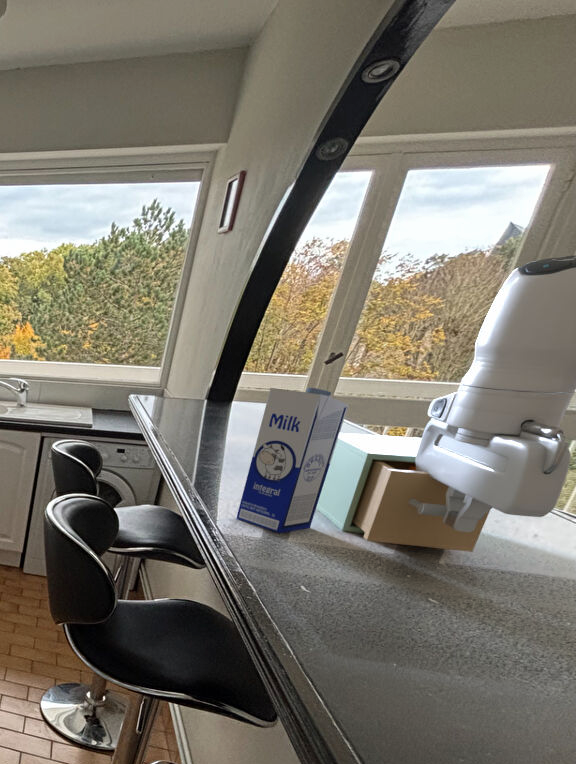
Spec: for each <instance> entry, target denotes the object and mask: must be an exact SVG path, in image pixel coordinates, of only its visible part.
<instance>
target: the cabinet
mask: <svg viewBox="0 0 576 764" xmlns="http://www.w3.org/2000/svg"><path fill="white" fill-rule="evenodd" d="M421 438H422V437H411V436H396V435H381V434H380V435H379V434H364V433H363V434H362V433H347V432H340V434H339V437H338V440H337V443H336V446H335V450H334V453H333V456H332V459H331V462H330V466H329V469H328V472H327V475H326V478H325V481H324V485H323V488H322V491H321V494H320V497H319V501H318V504H317V507H316V510H317V511H318V512H320V513H321V514H322V515H323V516H324V517H325V518H326V519H328V521H330V522H331V523H333V525H334V526H336V527H337V528H338V529H339V530H340V531H342V532H348V533H349V532H350V533H351V532H352V533H359V534H365V532H364V531H363V530H362V529H361V528H359V527H358V526H357V525H356V524H354V523H353V522H352V519H353V516H354V513H355V510H356V507H357V504H358V501H359V498H360V496H361V493H362V490H363V487H364V484H365V481H366V478H367V475H368V472H369V469H370V466H371V463H372V460H373V459H376V460H390V461H403V462H415V459H416V455H417V451H418V448H419V444H420V441H421Z"/></svg>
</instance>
